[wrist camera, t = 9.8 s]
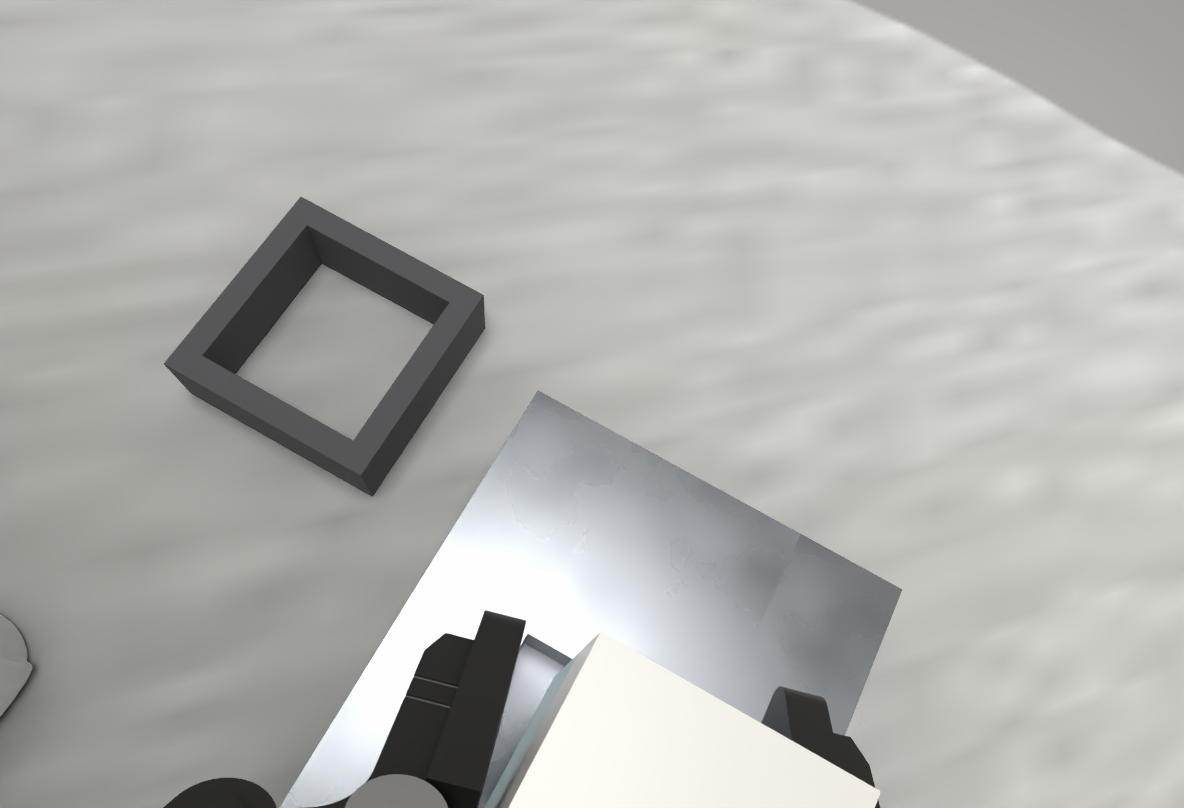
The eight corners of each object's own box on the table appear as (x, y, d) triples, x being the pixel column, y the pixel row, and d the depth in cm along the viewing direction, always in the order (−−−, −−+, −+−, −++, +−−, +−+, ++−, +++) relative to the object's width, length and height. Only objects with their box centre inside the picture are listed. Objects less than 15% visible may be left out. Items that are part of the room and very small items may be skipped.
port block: (199, 981, 23) (141, 1029, 20) (533, 433, 30) (537, 390, 26) (590, 1232, 22) (607, 1333, 18) (850, 607, 29) (902, 589, 25)
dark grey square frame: (190, 393, 29) (163, 363, 27) (315, 236, 31) (300, 196, 29) (372, 496, 28) (360, 475, 26) (484, 327, 31) (483, 295, 28)
